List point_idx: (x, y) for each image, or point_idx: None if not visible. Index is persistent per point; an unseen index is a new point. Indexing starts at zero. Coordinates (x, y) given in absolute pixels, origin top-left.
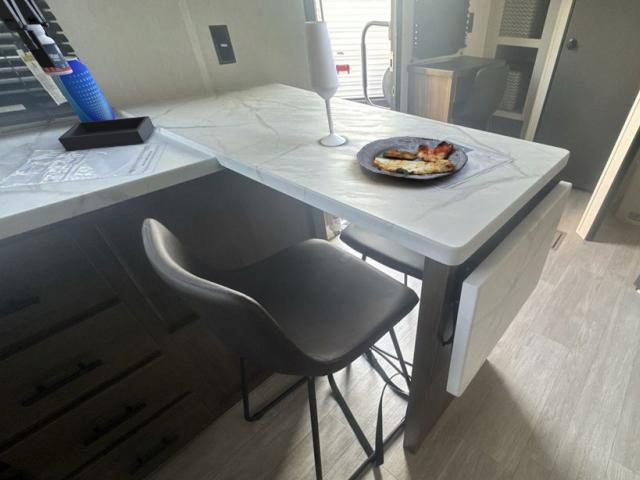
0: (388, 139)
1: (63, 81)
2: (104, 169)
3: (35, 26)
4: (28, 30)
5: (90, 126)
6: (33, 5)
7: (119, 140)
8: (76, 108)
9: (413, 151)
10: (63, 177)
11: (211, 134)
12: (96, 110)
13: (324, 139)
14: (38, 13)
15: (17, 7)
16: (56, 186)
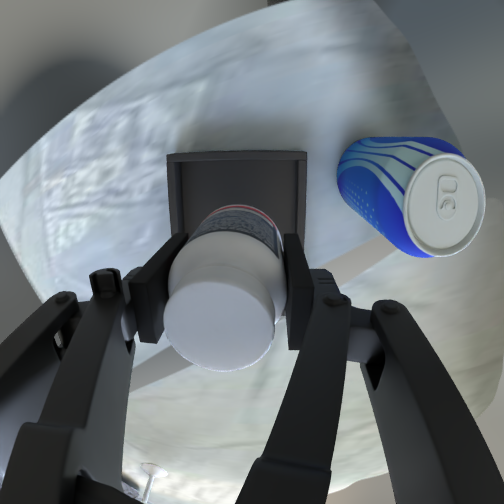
0: (131, 488)
1: (369, 177)
2: (74, 259)
3: (188, 359)
4: (139, 331)
5: (297, 177)
6: (376, 412)
7: None
8: (353, 156)
9: (122, 486)
10: (55, 207)
11: (209, 392)
12: (349, 201)
13: (150, 468)
14: (368, 382)
15: (126, 404)
16: (33, 211)
